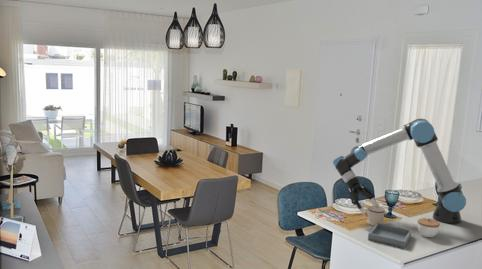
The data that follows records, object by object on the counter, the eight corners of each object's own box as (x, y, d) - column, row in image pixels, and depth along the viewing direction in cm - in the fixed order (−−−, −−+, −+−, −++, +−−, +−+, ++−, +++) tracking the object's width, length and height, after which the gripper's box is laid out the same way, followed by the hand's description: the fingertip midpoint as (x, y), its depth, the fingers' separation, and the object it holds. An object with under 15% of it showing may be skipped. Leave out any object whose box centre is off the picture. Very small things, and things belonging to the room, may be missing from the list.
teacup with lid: (386, 224, 237) (388, 204, 235) (377, 228, 231) (379, 208, 229) (368, 218, 246) (370, 199, 244) (359, 221, 240) (361, 202, 238)
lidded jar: (428, 240, 216) (430, 223, 214) (412, 233, 225) (413, 216, 224) (442, 237, 220) (444, 220, 219) (426, 230, 230) (427, 214, 228)
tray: (411, 236, 220) (411, 230, 220) (404, 248, 205) (405, 241, 205) (376, 228, 230) (377, 222, 229) (367, 239, 214) (368, 233, 214)
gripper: (358, 179, 257) (378, 209, 249) (334, 186, 241) (354, 218, 232) (366, 173, 253) (387, 203, 244) (342, 179, 236) (363, 212, 228)
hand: (371, 211), depth 238 cm, fingers open, 13 cm apart
